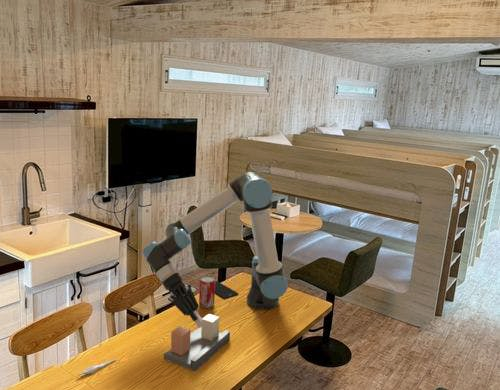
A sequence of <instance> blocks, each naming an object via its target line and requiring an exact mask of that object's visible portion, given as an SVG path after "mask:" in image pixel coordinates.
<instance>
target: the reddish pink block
mask: <svg viewBox="0 0 500 390" xmlns="http://www.w3.org/2000/svg"><path fill="white" fill-rule="evenodd" d="M190 334H191V329H189V328H186V327H183V326H181V325H179V326H177V327H176V328H175V329H174V330H172V331H171V334H170V335H171V337H170V347H171V348H170V349H171V352H174V353H177V354H179V355H183V354H185V353H186V352H187V351H188V350H190Z"/></svg>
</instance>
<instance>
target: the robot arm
mask: <svg viewBox="0 0 500 390" xmlns="http://www.w3.org/2000/svg"><path fill="white" fill-rule="evenodd" d="M272 197H273V188H272V185H271V184H270V182H269V181H268V180H267V179H266V178H264V177H262V175H261V174H259V173H258V172H254V171H248V172H244V173H243V174H242V173H241V175H239V176H237V178H235V179H234V180H232V181H231V182H229V183H227V187H226V188H224V189H223V190H221V191H220V192H218V193H216V194H215V195H214V196H213V197H211V198H210V199H208V200H206V201H205V202H203V203H202V204H201V205H199V206H198V207H196V208H194V210H191V211H190V212H189V213H187V214H186V215H184V216H183V217H182V218H180V219H179V220H177V221H172V222H170V223H168V224H167V226H166V227H165V228H166V229H165V239H164V240H163V241H161V242H160V243H158V242H157V241H153V242H151V243H150V244H148V245H145V247H144V248H143V249H142V255H143V257H144V258H145V261H146V262H147V263H148V265H149V266H150V268H151V269H152V270H153V272H154V274H155V275H156V277H157V278H158V280H159V281H160V282H161V284H162V286H163V287H164V288H165V290H166V291H168V293H169V296H168V298H167V300H168V301H169V302H171V303H172V304H173V305H174V306H175V307H176V309H178V311H180V312H181V313H182V314H183V315H184V316H187V317H190V319H191V320H192V321H193V322H194V323H195V324H196V326H197V328H200V327H202V318H203V317H202V315H201V314H200V312H199V311H198V309H199V306H200V305H199V302H198V301H197V299H196V296H195V294H194V292H193V290H192V285H191V284H188V285H187V284H185V283H184V282H183V281H182V280H183V278H182V276H181V275H180V273H178V272H177V269H176V267H174V265H173V263H172V262H171V260H170V259H171V258H174V257H175V255H177V254H179V253H180V252H182V251H183V250H184V249H186V248H187V247H188V246H189V245H191V243H192V239H191V236H190V235H189V234H191V233H192V232H194V231H195V230H197V229H198V228H200V227H202V226H203V225H204V224H206V223H207V222H210V220H212V219H213V218H215V217H217V216H218V215H219V214H221V213H222V212H224V211H225V210H227V209H228V208H230V207H232V206H233V205H234V204H236V203H241V202H243V206H244V207H243V209H244V211H245V212H247V213H248V215H249V220H250V225H251V231H252V236H253V241H254V242H253V243H254V246H255V253H256V255H254V256H253V258H252V262H251V264H252V265H251V281H250V283H251V284H250V288H249V290H248V293H247V295H246V303H247V305H248V306H250V307H251V308H254V309H257V310H270V309H271V310H272V309H275V308H276V307H277V306H278V305H279V301H280V298H281V297H283V296H284V295H285V293H287V291H288V287H289V286H288V285H289V283H288V280H287V279H286V277H285V273H284V267H283V262H281V261H279V260H278V259H279V257H278V252H277V247H276V240H275V236H274V228H273V223H272V216H271V211H270V210H271V208H272V207H273V203H272V202H273V201H272V199H273V198H272Z"/></svg>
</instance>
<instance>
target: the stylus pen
mask: <svg viewBox="0 0 500 390" xmlns="http://www.w3.org/2000/svg"><path fill="white" fill-rule="evenodd" d="M115 360H116V361H117V360H118V359H112V360H108V361H106V362H102V363H99V364H96V365H94V364H93V365H91V366H89V367H87V368H86V369H84V370H82V372H78V376H80V375H82V374H88V375H90V374H91V373H92V374H94V373H96V372H97V371H98V370H97V369H99V370H101V369H103V368H105V367H107V366H109V365H110V364H109V363H111V362H112V363H113V361H114V362H116V361H115ZM112 363H111V364H112ZM108 364H109V365H108ZM106 365H107V366H106ZM104 366H105V367H104ZM102 367H103V368H102ZM100 368H101V369H100ZM95 371H96V372H95ZM93 372H94V373H93Z"/></svg>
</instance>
